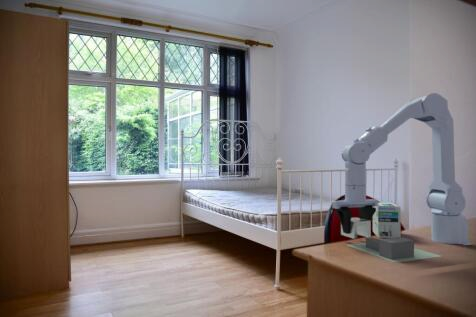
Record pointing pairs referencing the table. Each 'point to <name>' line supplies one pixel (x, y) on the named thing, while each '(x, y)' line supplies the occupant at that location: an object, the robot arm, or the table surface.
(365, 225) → the pale grey block
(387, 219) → the light bulb box
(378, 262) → the table surface
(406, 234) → the table surface
